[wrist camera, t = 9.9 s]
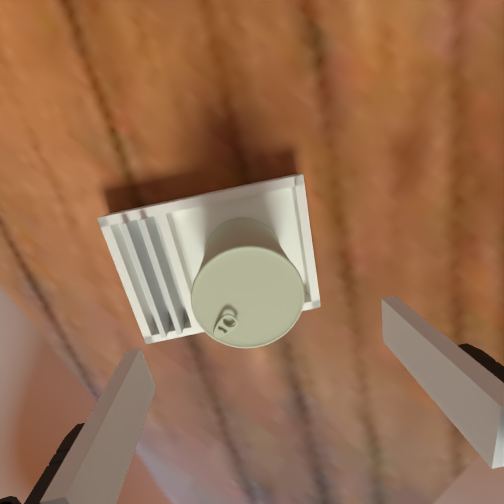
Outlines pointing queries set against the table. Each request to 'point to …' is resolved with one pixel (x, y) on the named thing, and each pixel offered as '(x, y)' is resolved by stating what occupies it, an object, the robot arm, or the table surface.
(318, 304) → the rack
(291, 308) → the can
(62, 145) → the table surface
